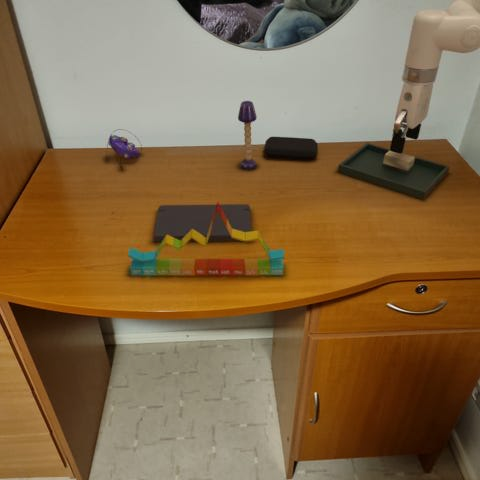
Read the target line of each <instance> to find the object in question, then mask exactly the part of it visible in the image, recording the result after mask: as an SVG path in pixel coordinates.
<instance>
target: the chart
mask: <svg viewBox="0 0 480 480" xmlns="http://www.w3.org/2000/svg"><path fill="white" fill-rule="evenodd" d="M215 205H216V209H215V212H214V215H213V218H212V221H211V225H210V228H209V231H208V234H207V238H206V237H204V236H203V235H201V234H200V233H198V232H197V231H195V230H194V229H193V230H191V231H190V232H189V233H188V234H187V235H186V236H185V237H184V238H183V239H182V240H181V241H180V240H178V239H176V238H175V239H174V237H171V236H169V235H166V236H165V238H164V239H163V241H162V242H160V244H159V246H158V247H157V249H155V250H152V251H145V252H143V251H140V250H138V249H136V248H133V247H131V246H130V247H129V250H128V254H127V257H128V258H130V259H131V262H130V267H129V270H130V275H131V276H283V275H284V259H285V251H284V248H281V249H280V248H279V249H273V250H271V249H270V248H269V246H268V245H267V243H266V241H265V240H264V237H262V235H261V233H260V231H259V230H252V231H251V232H242V231H239V230H235V229H232V228H231V226H230V224H229V222H228V220H227V218H226V216H225V214H224V212H223V210H222V208H221V207H220V205H221V204H220V203H219V202H218V201H217V202H216V204H215ZM217 205H218V208H217ZM217 210H218V213H219V215H220V216H221V218H222V220H223V222H224V224H225V226H226V228H227V230H228V231H229V233H230V235H231V237H232V238H234V239H237V240H241V241H240V242H245V243H246V242H253V241H258V242H259V243H260V245H261V246H262V248H263V250H264V252H265V253H266V255H267V256H268V258H158V256H159V255H160V253H161V251H162V250H163V249H164V247H165V246H166V245H167V246H169V247H172V248H174V249H176V250H178V251H180V250H181V249H182V248H184V247H185V245H186V244H188V243H189V242H188V241H189V240H190V239H191V238H192V239H194V240H195V241H197V243H199V244H200V245H201V246H202V247H204V248H206V247H207V244H208V242H209V241H208V239H209V235H210V232H211V229H212V226H213V223H214V219H215V216H216V213H217Z"/></svg>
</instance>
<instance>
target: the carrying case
mask: <svg viewBox="0 0 480 480" xmlns="http://www.w3.org/2000/svg"><path fill="white" fill-rule="evenodd" d="M318 148H319V144H318V142H317V141H316V140H315V139H313V138H307V137H292V136H291V137H289V136H269V137H268V138H267V139H266V140H265V143H264V148H263V154H264V155H265V156H266V157H267V158H270V159H280V160H281V159H282V160H298V161H313V160H315V158H316V157H317V156H318Z"/></svg>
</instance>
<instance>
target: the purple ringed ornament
mask: <svg viewBox="0 0 480 480" xmlns="http://www.w3.org/2000/svg"><path fill="white" fill-rule="evenodd" d="M119 130H120V131H126V132H128V133H130V134H132V132H131V131H129V130H126V129H120V128H117V129H115V130H114V132H116V131H119ZM133 136H134V137H135V138H136V139H137V140H138V142H139V143H140V146H141V148H140V149H141V151H139V150H137V149H135V148H136V144H134V143H133V142H128V138H127V137H125V136H118V135H116V134H110V135H109V138H108V141H107V145H106V148H108V146H110V148H111V149H112V150H113V152H114V157H115V158H116V160H117V162H118V165H119V167H120V169H121V170H123V165H122V164H121V163H122V159H123V158H125V159H131V158H132V159H137V158H139V157H141V154H142V151H143V148H142V144H141V141H140V140H139V138H138V137H137V136H136V135H135V134H133ZM116 154H117V155H121V157H120V160H119V161H120V163H119V161H118V158H117V156H116ZM105 160H106V161H108V160H109V157H108V152H106V156H105Z"/></svg>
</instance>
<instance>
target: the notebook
mask: <svg viewBox="0 0 480 480" xmlns="http://www.w3.org/2000/svg"><path fill="white" fill-rule="evenodd" d="M216 205H217V204H161V205H159V206H158V209H157V213H156V215H157V216H156V220H155V226H154V231H153V243H162V241H163V239H164V238H165V236H166V235H169V236H171V237H174V239H175V238H176V239H178V240H180V241H181V240H182V239H183V238H184V237H185V236H186V235H187V234H188V233H189V232H190V231H191V230H193V229H194V230H195V231H197V232H198V233H200V234H201V235H203V236H204V237H206V238H207V234H208V231H209V228H210V225H211V221H212V218H213V215H214V212H215V209H216ZM219 205H220V207H221V208H222V210H223V212H224V214H225V216H226V218H227V220H228V222H229V224H230V226H231V228H232V229H235V230H239V231H242V232H251V231H253V230H252V220H251V206H250V204H248V203H238V204H237V203H235V204H233V203H232V204H231V203H230V204H227V203H226V204H219ZM217 208H218V205H217ZM189 242H190V243H191V242H197V241H195V240H194V239H192V238H191V239H190V240H189V241H188V242H187V243H189ZM208 242H242V241H241V240H237V239H234V238H232V237H231V235H230V233H229V231H228V230H227V228H226V226H225V224H224V222H223V220H222V218H221V216H220V215H219V213H218V210H217V213H216V216H215V219H214V223H213V226H212V229H211V232H210V235H209V239H208ZM197 243H198V242H197Z"/></svg>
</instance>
